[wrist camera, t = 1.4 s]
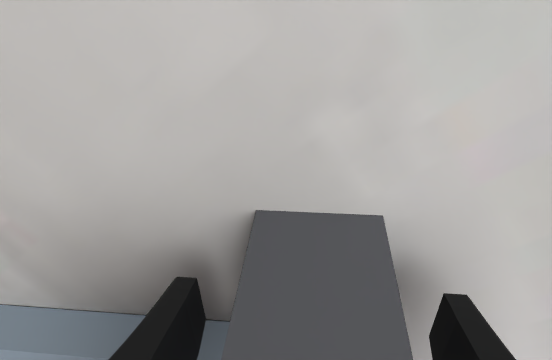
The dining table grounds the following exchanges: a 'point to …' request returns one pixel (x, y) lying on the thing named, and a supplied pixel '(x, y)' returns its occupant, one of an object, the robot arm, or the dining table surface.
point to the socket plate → (81, 334)
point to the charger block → (317, 291)
